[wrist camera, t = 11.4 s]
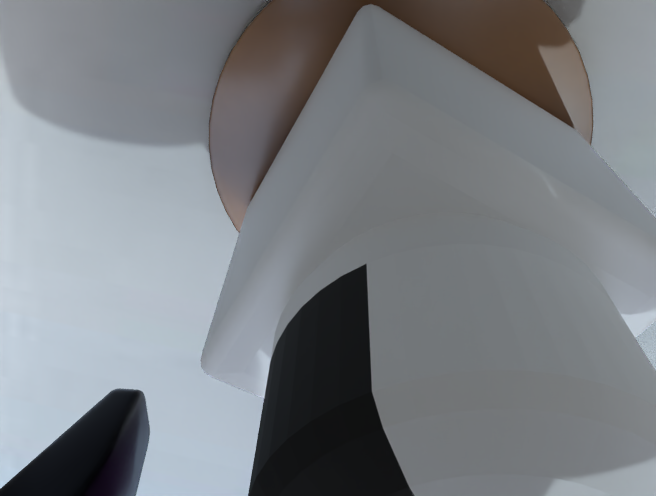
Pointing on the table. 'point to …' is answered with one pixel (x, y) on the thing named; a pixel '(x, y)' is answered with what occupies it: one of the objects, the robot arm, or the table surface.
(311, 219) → the medicine bottle
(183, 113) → the table surface
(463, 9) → the cork coaster
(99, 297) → the table surface
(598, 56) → the table surface
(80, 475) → the robot arm
